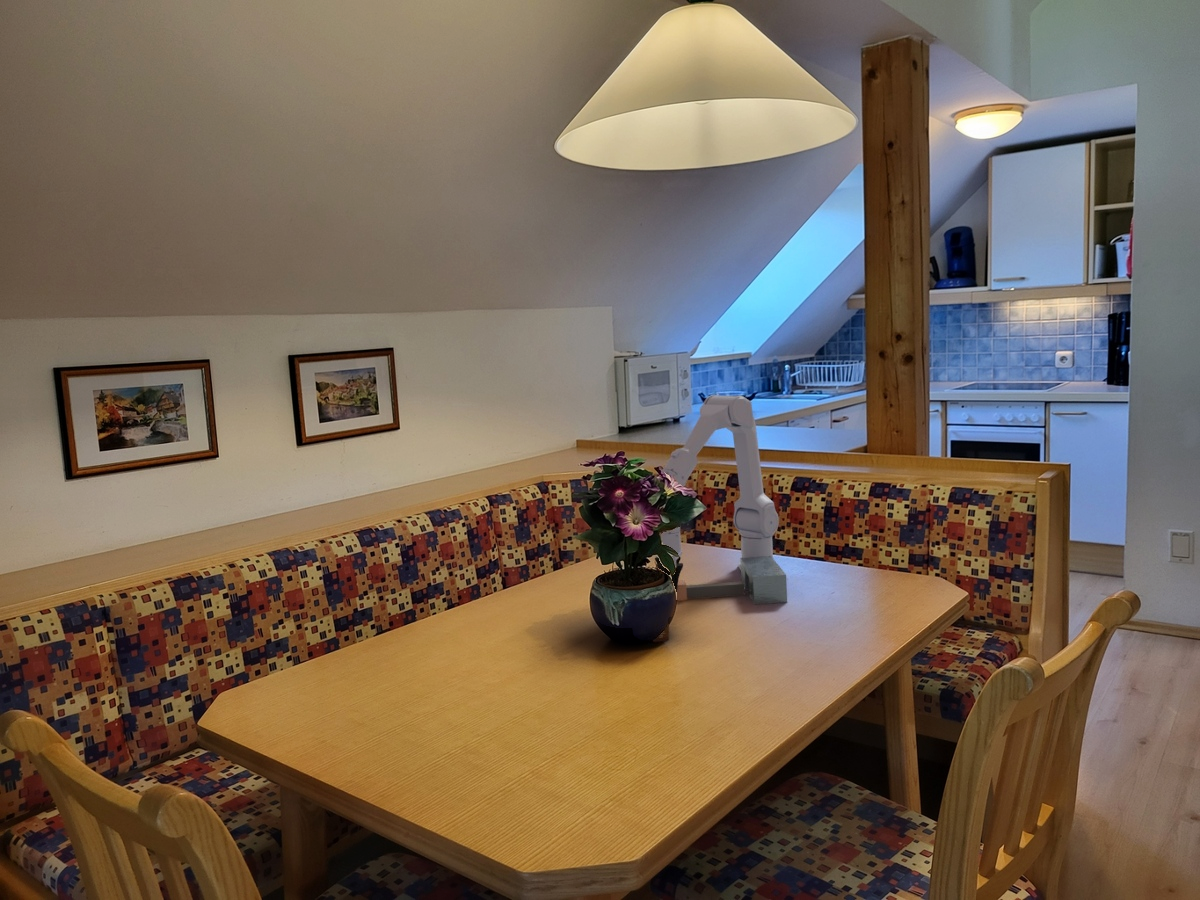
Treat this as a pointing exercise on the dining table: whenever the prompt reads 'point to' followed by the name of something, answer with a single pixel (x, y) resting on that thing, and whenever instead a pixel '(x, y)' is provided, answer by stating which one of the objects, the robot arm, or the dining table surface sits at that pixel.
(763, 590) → the block
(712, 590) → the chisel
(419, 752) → the dining table surface
